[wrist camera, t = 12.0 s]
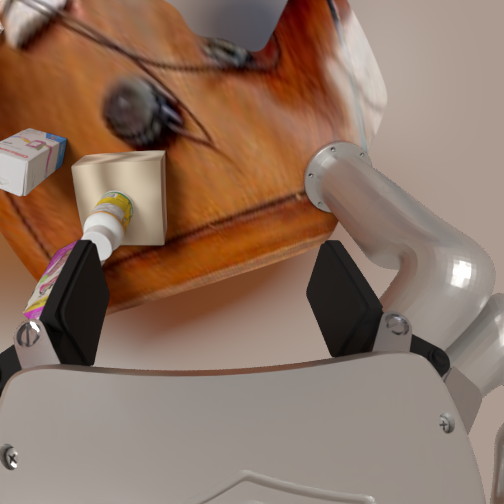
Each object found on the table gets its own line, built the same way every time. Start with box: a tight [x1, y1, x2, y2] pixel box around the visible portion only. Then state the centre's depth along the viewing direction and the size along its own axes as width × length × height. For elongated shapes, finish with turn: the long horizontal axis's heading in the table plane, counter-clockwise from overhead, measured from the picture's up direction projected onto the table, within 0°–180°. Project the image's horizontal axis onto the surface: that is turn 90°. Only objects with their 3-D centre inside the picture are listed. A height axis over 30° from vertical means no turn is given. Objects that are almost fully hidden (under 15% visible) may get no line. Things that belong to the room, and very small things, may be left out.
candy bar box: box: [23, 238, 105, 320], centre depth 36 cm, size 11×5×16 cm, turn 106°
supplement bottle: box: [81, 190, 134, 261], centre depth 30 cm, size 5×5×10 cm
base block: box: [71, 151, 167, 245], centre depth 36 cm, size 13×13×5 cm
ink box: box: [0, 128, 67, 196], centre depth 26 cm, size 8×5×12 cm, turn 62°
